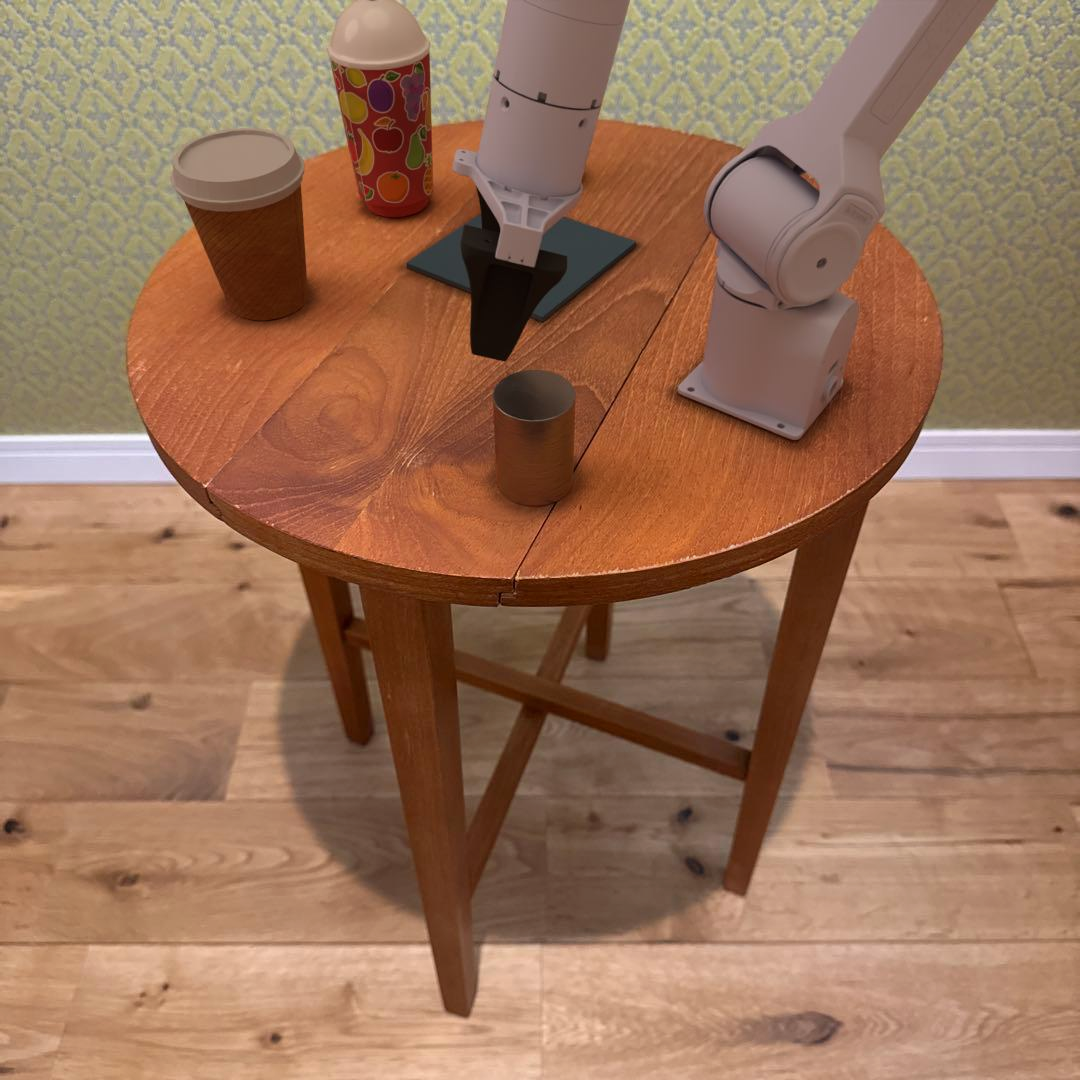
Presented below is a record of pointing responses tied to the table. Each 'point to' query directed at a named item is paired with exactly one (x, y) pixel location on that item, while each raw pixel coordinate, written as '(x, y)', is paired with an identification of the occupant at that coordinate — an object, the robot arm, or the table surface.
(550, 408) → the cylinder
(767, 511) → the table surface
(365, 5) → the smoothie
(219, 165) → the disposable coffee cup
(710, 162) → the table surface
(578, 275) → the mat
